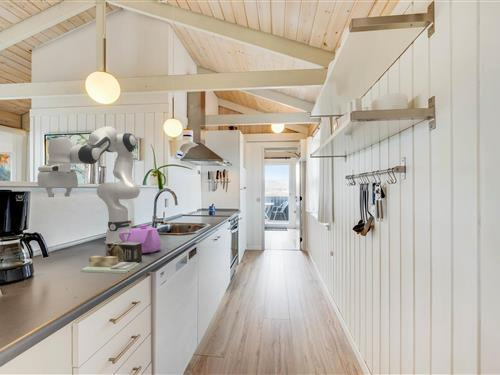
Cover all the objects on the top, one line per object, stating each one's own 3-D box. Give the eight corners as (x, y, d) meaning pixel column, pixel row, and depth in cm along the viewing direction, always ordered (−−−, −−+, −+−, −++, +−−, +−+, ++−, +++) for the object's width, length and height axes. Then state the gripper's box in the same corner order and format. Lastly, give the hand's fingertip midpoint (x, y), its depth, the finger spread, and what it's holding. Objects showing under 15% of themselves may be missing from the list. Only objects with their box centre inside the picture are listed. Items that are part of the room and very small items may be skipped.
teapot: (115, 252, 144) (115, 224, 144) (154, 246, 157) (154, 221, 157) (124, 261, 126) (124, 230, 126) (167, 254, 138) (167, 226, 138)
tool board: (98, 264, 121) (98, 262, 121) (139, 265, 119) (139, 263, 119) (80, 271, 110) (80, 269, 110) (125, 273, 108) (125, 270, 108)
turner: (84, 268, 111) (84, 258, 111) (97, 263, 119) (97, 254, 119) (126, 269, 109) (126, 260, 109) (136, 264, 117) (136, 255, 117)
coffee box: (104, 243, 124) (132, 245, 120) (115, 240, 130) (142, 242, 126) (105, 262, 124) (132, 264, 119) (115, 258, 130) (142, 261, 126)
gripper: (70, 170, 139) (70, 196, 139) (34, 167, 118) (34, 197, 118) (81, 170, 138) (81, 196, 138) (47, 166, 118) (47, 197, 118)
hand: (59, 196), depth 128 cm, fingers open, 8 cm apart
